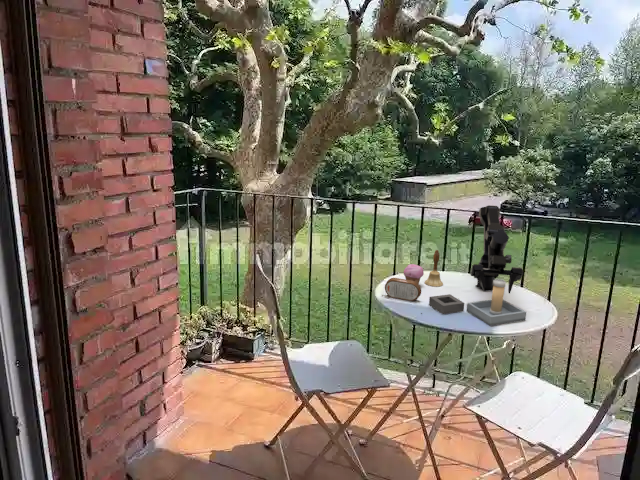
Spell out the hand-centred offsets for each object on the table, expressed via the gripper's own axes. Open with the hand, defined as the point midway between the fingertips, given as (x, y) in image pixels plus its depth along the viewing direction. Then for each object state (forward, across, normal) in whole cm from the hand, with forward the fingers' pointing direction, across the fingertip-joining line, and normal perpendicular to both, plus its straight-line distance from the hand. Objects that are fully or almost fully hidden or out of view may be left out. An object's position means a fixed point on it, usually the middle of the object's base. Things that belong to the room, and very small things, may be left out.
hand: (496, 291), depth 179 cm
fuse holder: (+6, -18, +6) cm, 20 cm away
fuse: (+7, 0, +4) cm, 8 cm away
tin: (+2, -36, +10) cm, 37 cm away
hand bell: (-13, -22, +26) cm, 37 cm away
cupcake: (-9, -32, +22) cm, 40 cm away
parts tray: (+8, 0, +4) cm, 9 cm away
